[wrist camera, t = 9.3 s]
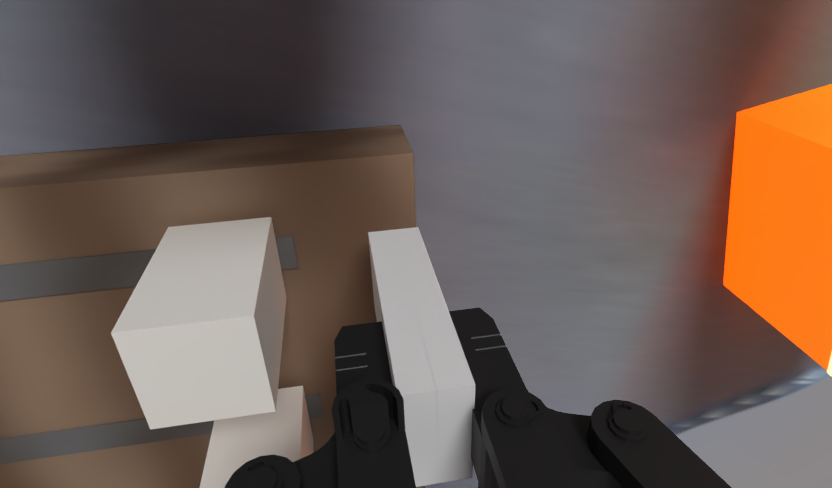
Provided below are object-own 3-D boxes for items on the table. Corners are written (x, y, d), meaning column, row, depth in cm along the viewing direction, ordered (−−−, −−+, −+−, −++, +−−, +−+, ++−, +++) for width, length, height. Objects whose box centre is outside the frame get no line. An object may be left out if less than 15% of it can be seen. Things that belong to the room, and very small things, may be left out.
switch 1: (192, 308, 17) (150, 429, 13) (168, 226, 16) (110, 333, 11) (286, 297, 17) (275, 411, 13) (271, 217, 16) (253, 315, 12)
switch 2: (236, 452, 20) (214, 585, 16) (219, 397, 19) (190, 528, 15) (313, 440, 21) (311, 568, 17) (303, 385, 19) (298, 509, 15)
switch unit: (22, 548, 26) (-37, 667, 22) (-240, 175, 16) (-442, 256, 12) (417, 483, 29) (434, 578, 24) (400, 125, 19) (424, 177, 14)
